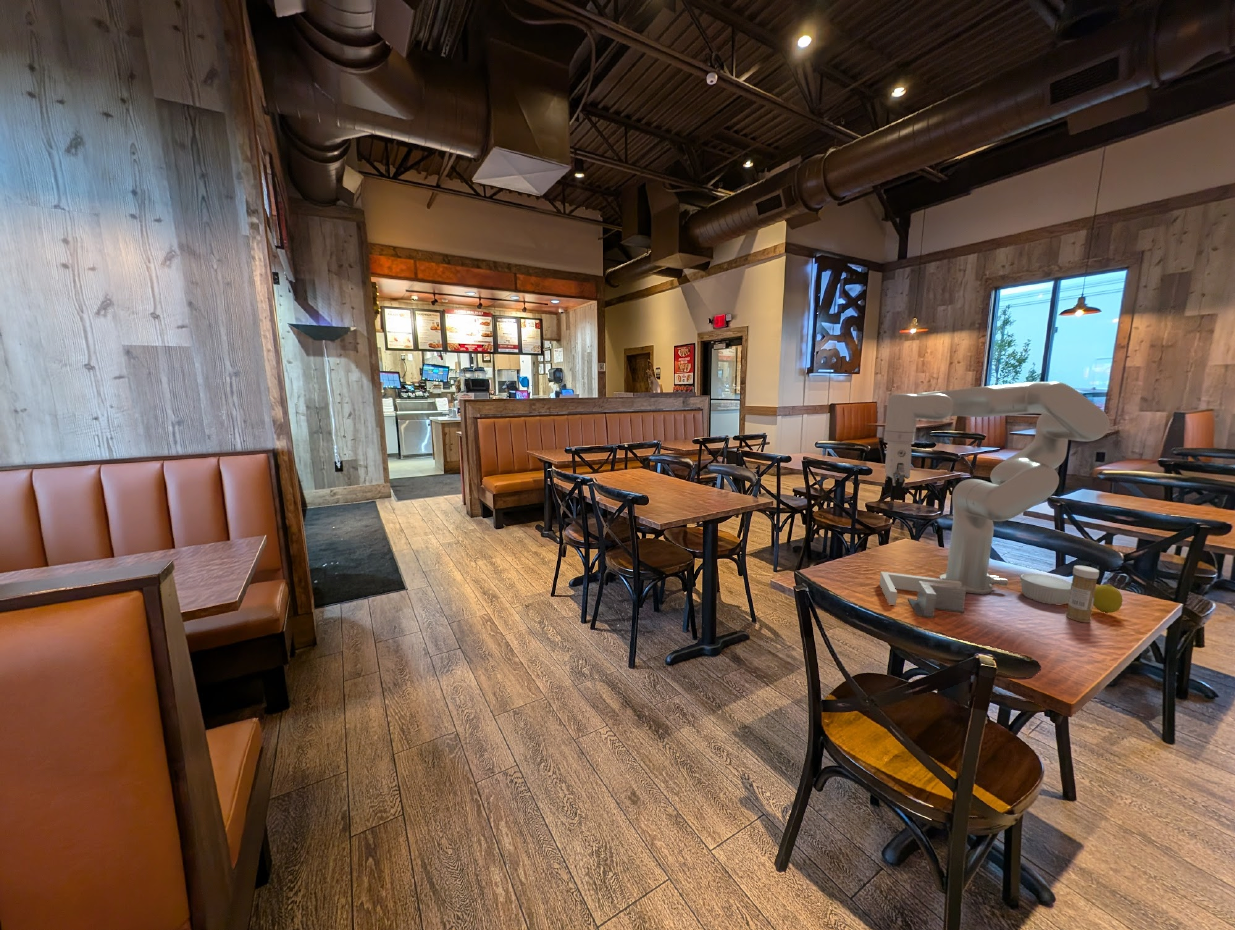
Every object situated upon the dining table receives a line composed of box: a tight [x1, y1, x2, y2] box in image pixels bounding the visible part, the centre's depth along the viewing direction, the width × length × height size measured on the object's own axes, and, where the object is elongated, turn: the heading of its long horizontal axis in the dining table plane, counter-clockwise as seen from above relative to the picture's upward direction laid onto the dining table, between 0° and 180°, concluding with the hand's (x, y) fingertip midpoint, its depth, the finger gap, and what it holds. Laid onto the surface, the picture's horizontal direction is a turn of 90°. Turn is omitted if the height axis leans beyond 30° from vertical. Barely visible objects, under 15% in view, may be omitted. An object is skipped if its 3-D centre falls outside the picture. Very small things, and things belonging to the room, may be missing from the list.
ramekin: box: [1019, 572, 1072, 605], centre depth 130 cm, size 11×11×5 cm
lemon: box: [1093, 583, 1123, 614], centre depth 121 cm, size 6×6×8 cm
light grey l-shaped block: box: [879, 571, 962, 607], centre depth 128 cm, size 20×15×4 cm
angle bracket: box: [916, 581, 967, 616], centre depth 121 cm, size 10×8×6 cm
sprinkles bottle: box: [1065, 565, 1100, 623], centre depth 118 cm, size 5×5×13 cm
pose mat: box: [907, 598, 966, 619], centre depth 122 cm, size 12×10×1 cm
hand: (893, 496), depth 136 cm, fingers open, 9 cm apart
